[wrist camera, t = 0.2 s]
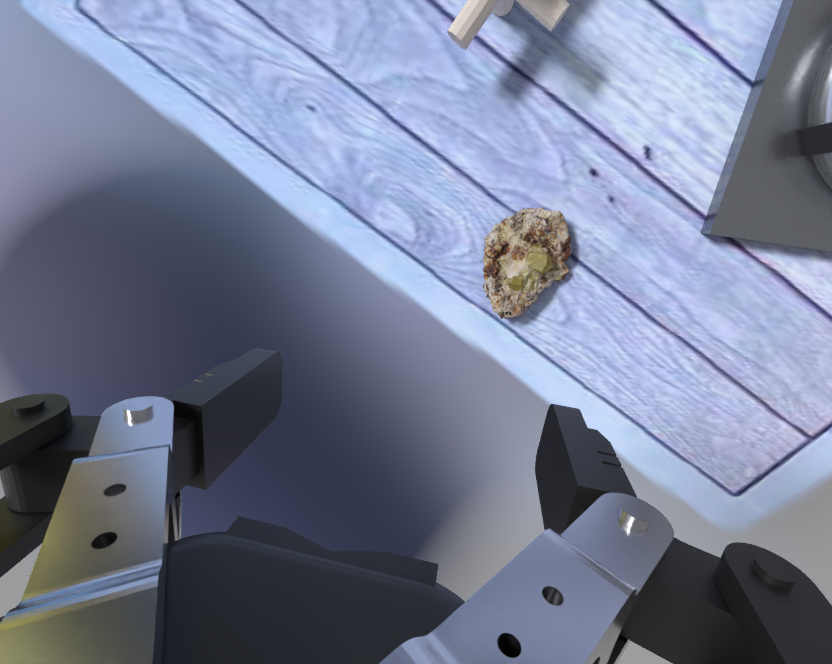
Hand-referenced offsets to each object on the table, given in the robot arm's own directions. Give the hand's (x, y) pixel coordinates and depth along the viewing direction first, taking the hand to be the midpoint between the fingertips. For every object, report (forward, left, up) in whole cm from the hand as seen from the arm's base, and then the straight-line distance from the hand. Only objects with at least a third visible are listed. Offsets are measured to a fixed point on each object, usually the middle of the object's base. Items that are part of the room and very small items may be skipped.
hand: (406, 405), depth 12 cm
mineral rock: (-1, +5, -30) cm, 30 cm away
